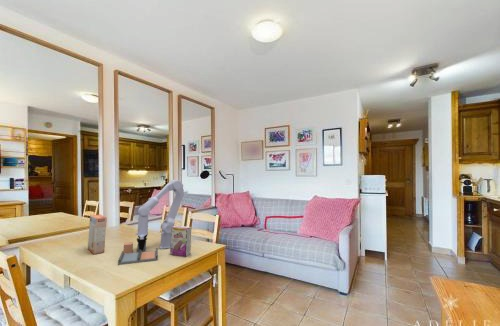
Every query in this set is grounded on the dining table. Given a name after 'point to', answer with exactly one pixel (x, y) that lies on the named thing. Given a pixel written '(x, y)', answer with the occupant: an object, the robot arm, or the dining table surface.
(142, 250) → the slate-blue block
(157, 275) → the dining table surface
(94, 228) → the cracker box
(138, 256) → the slot rack
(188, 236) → the candy bar box
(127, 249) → the terracotta block
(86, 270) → the dining table surface
